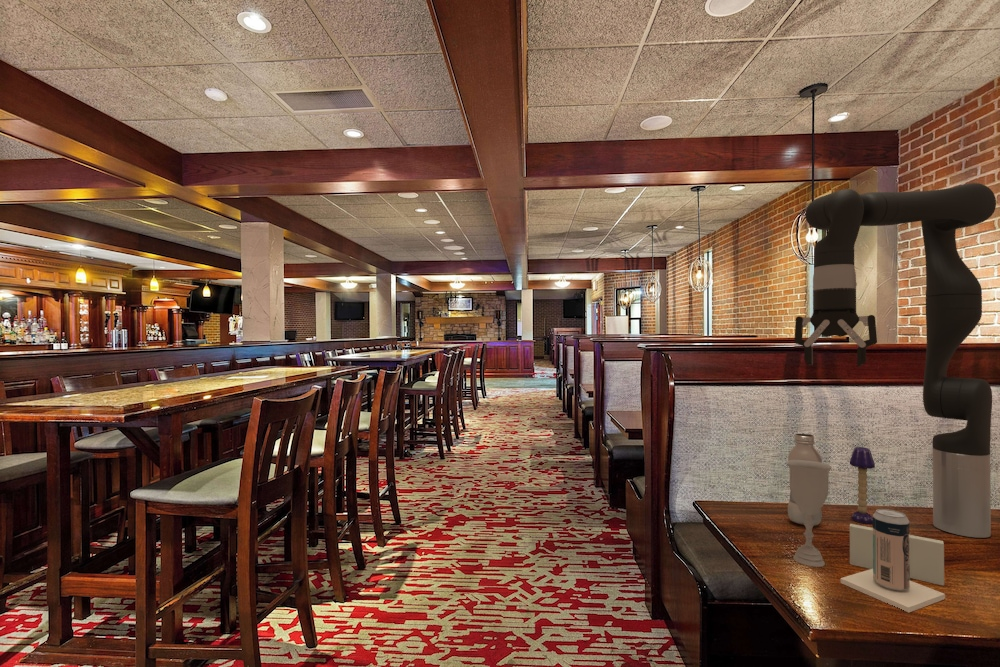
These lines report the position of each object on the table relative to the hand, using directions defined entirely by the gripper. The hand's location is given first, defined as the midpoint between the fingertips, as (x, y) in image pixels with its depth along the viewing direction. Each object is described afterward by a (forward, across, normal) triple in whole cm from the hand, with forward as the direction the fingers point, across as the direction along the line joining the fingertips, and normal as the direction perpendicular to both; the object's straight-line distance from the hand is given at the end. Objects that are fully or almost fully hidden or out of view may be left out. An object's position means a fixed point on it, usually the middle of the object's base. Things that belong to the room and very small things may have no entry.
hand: (834, 365), depth 104 cm
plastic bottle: (+36, -6, +6) cm, 37 cm away
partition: (+36, +9, -12) cm, 39 cm away
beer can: (+36, +9, -20) cm, 42 cm away
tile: (+36, +9, -20) cm, 42 cm away
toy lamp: (+36, +4, +16) cm, 40 cm away
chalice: (+36, -3, -16) cm, 40 cm away
